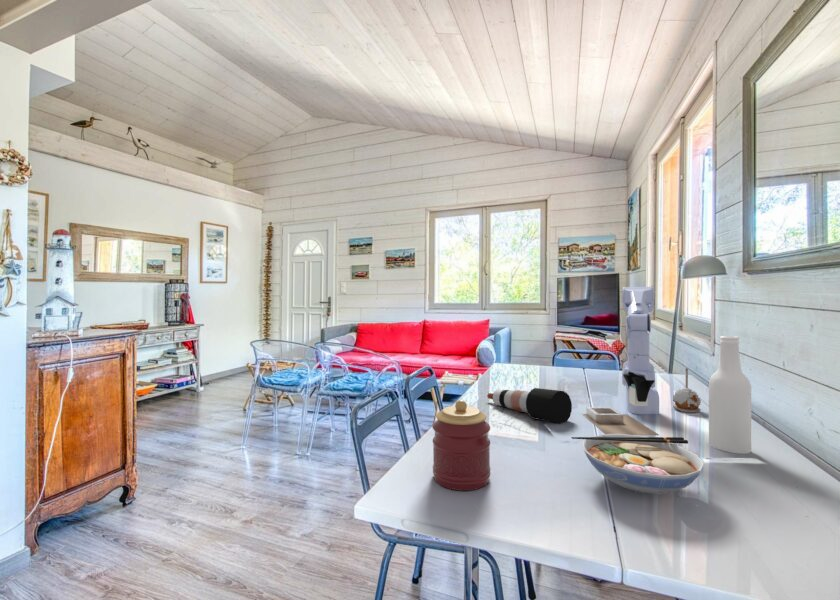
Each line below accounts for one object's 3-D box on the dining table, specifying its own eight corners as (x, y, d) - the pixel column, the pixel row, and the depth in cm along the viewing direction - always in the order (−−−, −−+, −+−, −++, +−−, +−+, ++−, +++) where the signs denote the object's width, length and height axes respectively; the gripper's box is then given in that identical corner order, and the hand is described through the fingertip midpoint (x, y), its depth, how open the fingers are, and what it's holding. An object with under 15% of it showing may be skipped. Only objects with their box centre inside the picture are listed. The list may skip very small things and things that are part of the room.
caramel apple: (696, 415, 134) (696, 371, 134) (670, 410, 140) (670, 368, 140) (702, 410, 140) (702, 368, 140) (677, 406, 145) (677, 365, 145)
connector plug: (641, 402, 119) (641, 379, 119) (647, 406, 116) (647, 382, 116) (629, 402, 120) (629, 379, 120) (635, 405, 116) (635, 382, 116)
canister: (424, 470, 93) (423, 396, 93) (473, 462, 98) (472, 391, 97) (447, 496, 81) (446, 410, 81) (501, 485, 85) (501, 404, 85)
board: (627, 417, 132) (627, 414, 132) (659, 438, 113) (659, 435, 113) (581, 416, 133) (581, 413, 133) (605, 437, 113) (605, 434, 113)
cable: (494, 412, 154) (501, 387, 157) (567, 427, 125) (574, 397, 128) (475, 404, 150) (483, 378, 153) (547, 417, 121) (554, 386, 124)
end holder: (612, 414, 132) (612, 407, 132) (623, 422, 124) (623, 414, 124) (586, 414, 133) (586, 407, 132) (595, 422, 124) (595, 414, 124)
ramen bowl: (594, 510, 75) (594, 467, 75) (566, 461, 98) (566, 428, 98) (738, 519, 72) (738, 475, 72) (675, 466, 94) (675, 432, 94)
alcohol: (748, 448, 105) (748, 335, 105) (753, 460, 98) (753, 338, 97) (707, 441, 110) (707, 334, 110) (709, 452, 102) (709, 337, 102)
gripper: (614, 350, 125) (614, 393, 125) (636, 357, 111) (636, 406, 111) (637, 350, 125) (637, 393, 125) (662, 357, 110) (662, 406, 110)
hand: (638, 399), depth 118 cm, fingers closed on connector plug, 4 cm apart
